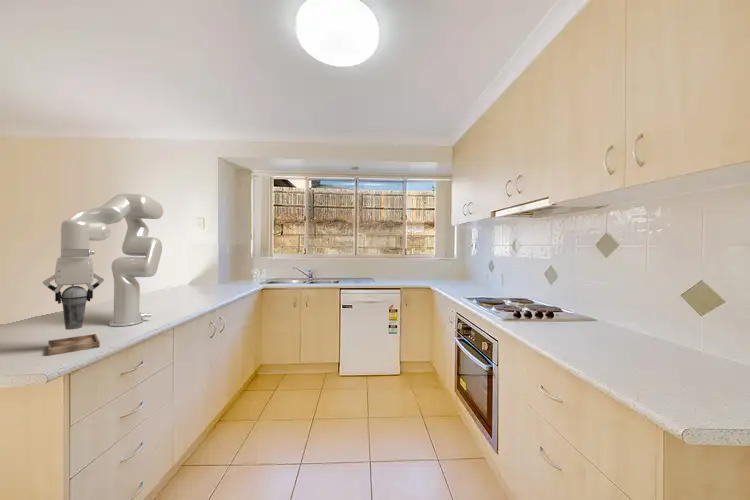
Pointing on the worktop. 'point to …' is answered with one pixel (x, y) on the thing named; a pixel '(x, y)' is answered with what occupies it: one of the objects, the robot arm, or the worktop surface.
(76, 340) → the tray
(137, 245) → the robot arm
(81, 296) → the beverage cup
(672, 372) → the worktop surface
